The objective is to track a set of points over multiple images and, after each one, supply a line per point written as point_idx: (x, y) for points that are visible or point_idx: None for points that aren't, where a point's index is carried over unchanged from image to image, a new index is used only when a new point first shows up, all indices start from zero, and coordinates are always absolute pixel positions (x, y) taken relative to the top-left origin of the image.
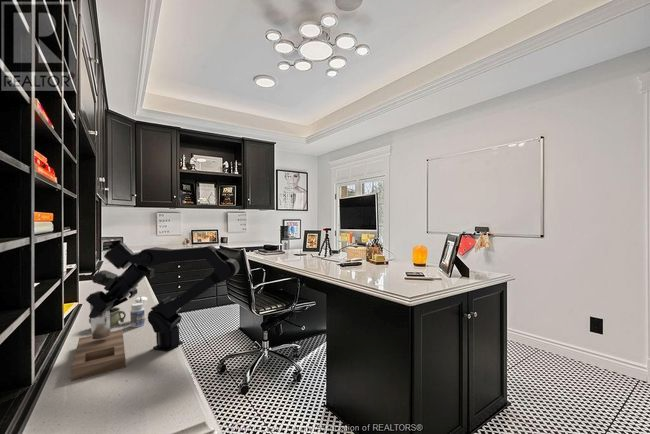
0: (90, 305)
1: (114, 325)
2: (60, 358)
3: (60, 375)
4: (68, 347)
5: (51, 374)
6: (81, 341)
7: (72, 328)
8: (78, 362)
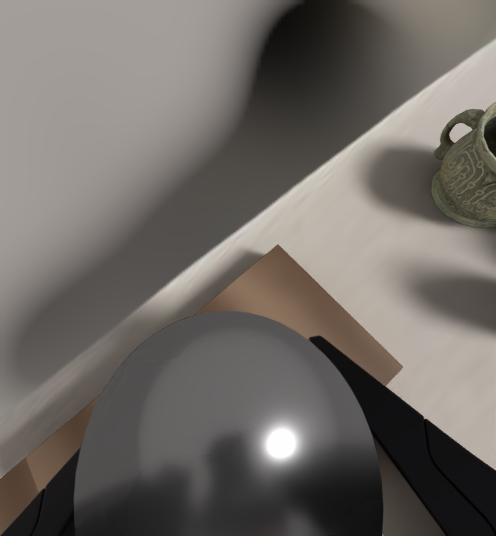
0: (125, 373)
1: (481, 221)
2: (194, 272)
3: (78, 386)
4: (271, 223)
5: (90, 347)
6: (246, 284)
7: (411, 100)
8: (44, 465)
